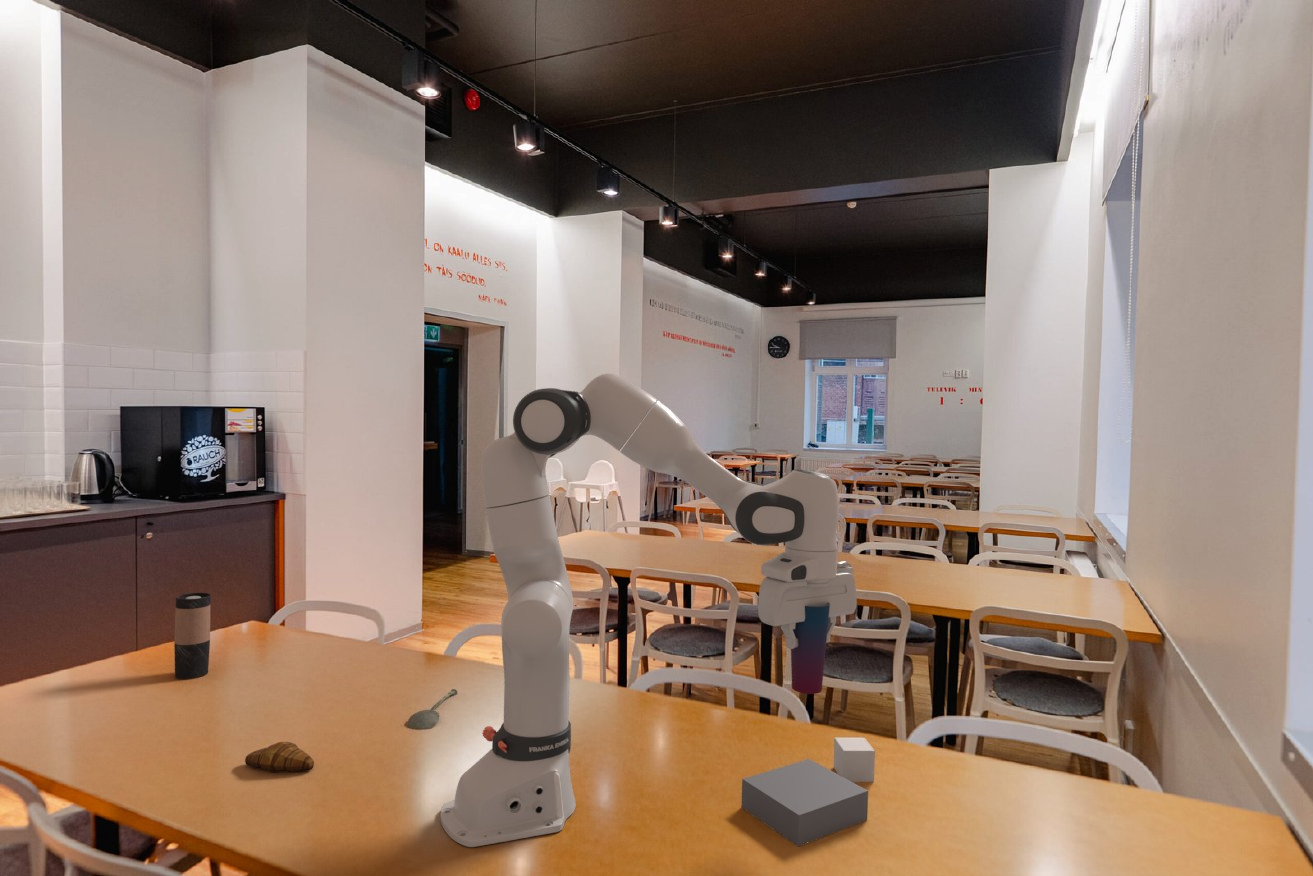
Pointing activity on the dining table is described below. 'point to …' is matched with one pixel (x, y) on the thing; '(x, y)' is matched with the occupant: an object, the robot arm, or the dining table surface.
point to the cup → (810, 650)
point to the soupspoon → (427, 716)
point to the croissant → (280, 758)
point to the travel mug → (192, 635)
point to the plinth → (804, 801)
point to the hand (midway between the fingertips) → (808, 645)
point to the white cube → (854, 759)
